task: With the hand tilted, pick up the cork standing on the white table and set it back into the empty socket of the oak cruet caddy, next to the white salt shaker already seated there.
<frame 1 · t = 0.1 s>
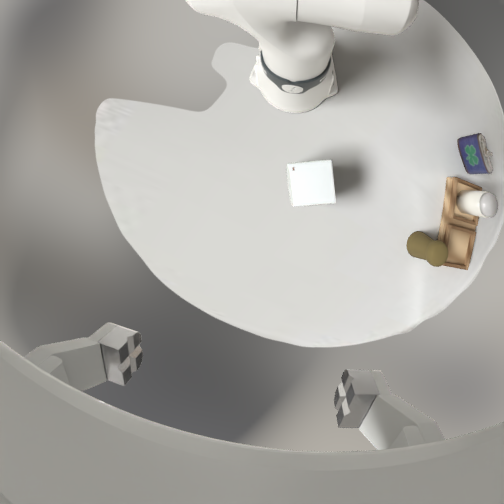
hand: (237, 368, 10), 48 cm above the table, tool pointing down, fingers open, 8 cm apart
flask: (464, 156, 47), on the table
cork: (417, 244, 53), on the table
caddy: (457, 223, 51), on the table
supplement box: (305, 184, 54), on the table
salt shaker: (464, 201, 48), point 1 cm above the table, touching caddy
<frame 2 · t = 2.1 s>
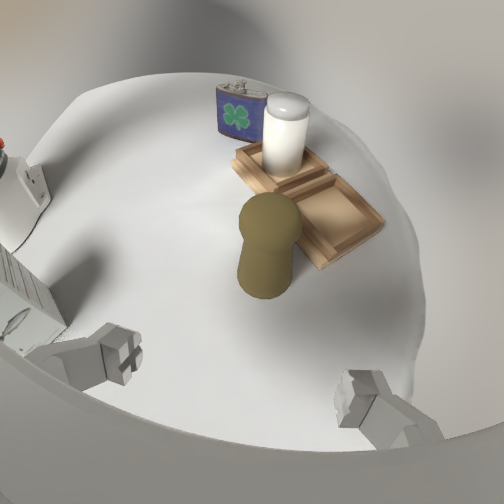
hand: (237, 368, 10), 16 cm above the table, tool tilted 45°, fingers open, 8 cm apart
flask: (240, 136, 44), on the table
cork: (264, 274, 30), on the table
caddy: (303, 196, 36), on the table
supplement box: (42, 323, 26), on the table
salt shaker: (281, 164, 37), point 2 cm above the table, touching caddy
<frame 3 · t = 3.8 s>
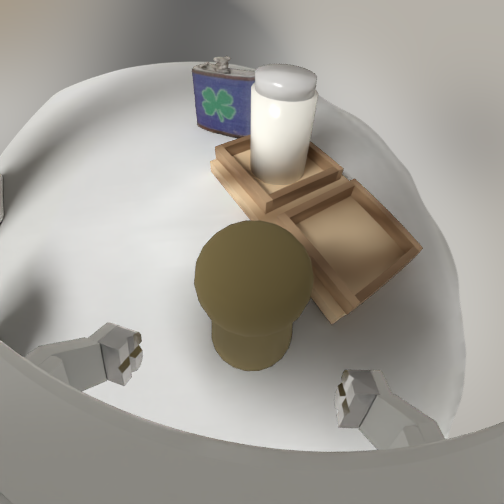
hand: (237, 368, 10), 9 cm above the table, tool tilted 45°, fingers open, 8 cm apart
flask: (225, 130, 34), on the table
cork: (251, 332, 20), on the table
caddy: (308, 210, 26), on the table
salt shaker: (277, 166, 27), point 2 cm above the table, touching caddy
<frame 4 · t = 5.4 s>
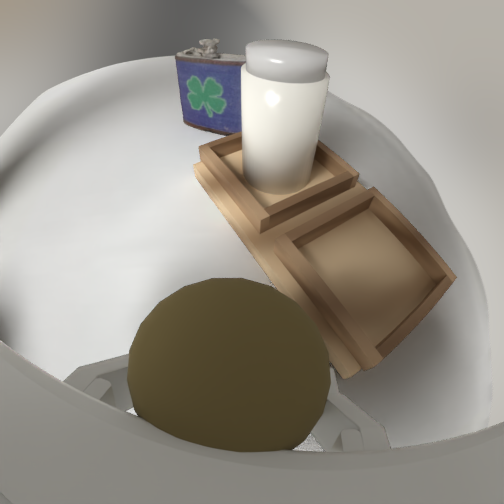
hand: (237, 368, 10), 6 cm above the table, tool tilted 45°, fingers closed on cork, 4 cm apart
flask: (215, 127, 28), on the table
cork: (240, 391, 15), on the table, touching gripper
caddy: (316, 227, 21), on the table
salt shaker: (276, 170, 22), point 2 cm above the table, touching caddy
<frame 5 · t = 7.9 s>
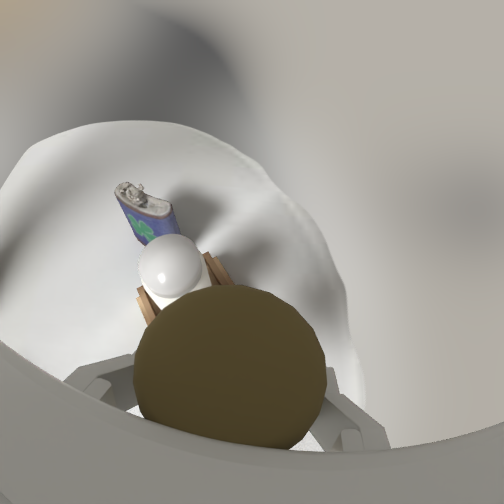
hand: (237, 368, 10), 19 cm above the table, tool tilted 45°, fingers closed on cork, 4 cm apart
flask: (159, 243, 36), on the table
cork: (240, 392, 15), point 13 cm above the table, touching gripper
caddy: (218, 353, 28), on the table
salt shaker: (192, 308, 29), point 2 cm above the table, touching caddy
when the fingers open (9 cm above the table, at t = 10.2 s): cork stays where it is, resting on caddy.
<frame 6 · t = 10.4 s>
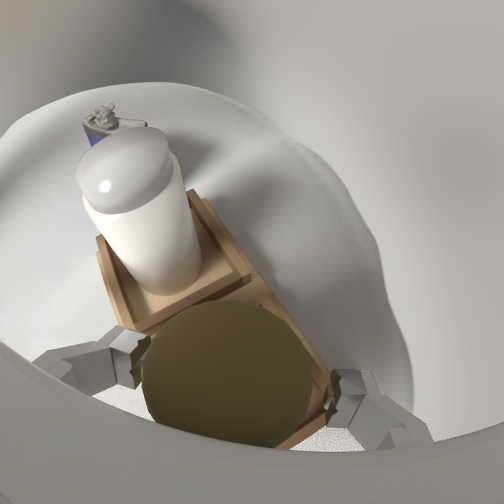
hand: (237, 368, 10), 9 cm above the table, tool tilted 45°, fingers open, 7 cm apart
flask: (135, 191, 27), on the table
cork: (237, 395, 16), point 1 cm above the table, touching caddy
caddy: (202, 328, 19), on the table
salt shaker: (167, 263, 20), point 2 cm above the table, touching caddy
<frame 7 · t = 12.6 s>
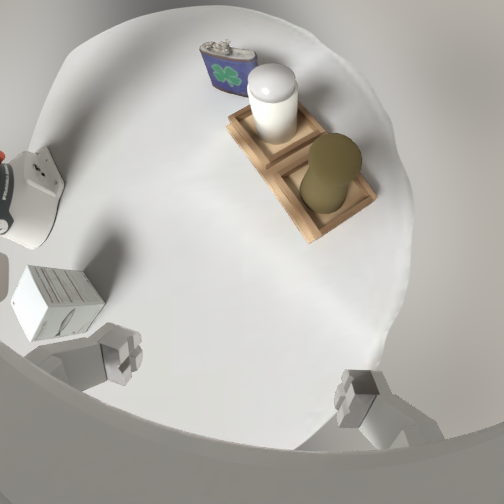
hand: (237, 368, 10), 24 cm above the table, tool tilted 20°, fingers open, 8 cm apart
flask: (236, 88, 38), on the table
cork: (322, 191, 33), point 1 cm above the table, touching caddy
caddy: (299, 161, 35), on the table
supplement box: (84, 302, 37), on the table
salt shaker: (276, 127, 35), point 2 cm above the table, touching caddy
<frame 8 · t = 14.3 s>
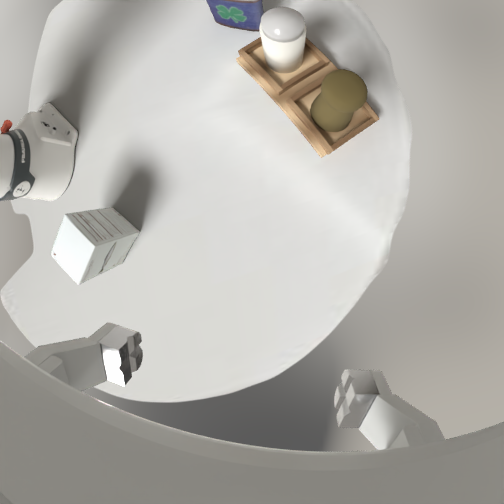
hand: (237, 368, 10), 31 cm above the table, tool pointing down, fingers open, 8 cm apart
flask: (239, 23, 33), on the table
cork: (330, 113, 34), point 1 cm above the table, touching caddy
caddy: (307, 86, 34), on the table
supplement box: (118, 235, 43), on the table
salt shaker: (283, 58, 32), point 2 cm above the table, touching caddy
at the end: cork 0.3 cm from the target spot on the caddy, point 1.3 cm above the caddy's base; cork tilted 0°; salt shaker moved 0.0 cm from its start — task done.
